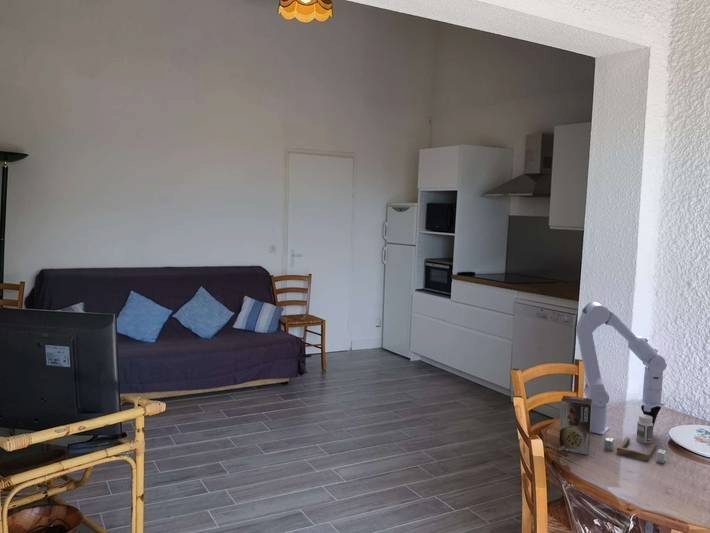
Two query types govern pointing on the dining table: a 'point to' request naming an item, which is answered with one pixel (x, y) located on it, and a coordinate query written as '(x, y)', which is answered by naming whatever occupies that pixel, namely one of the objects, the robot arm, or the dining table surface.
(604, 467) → the dining table surface
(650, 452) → the white cubes brown bar
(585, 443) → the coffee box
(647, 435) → the pill bottle
